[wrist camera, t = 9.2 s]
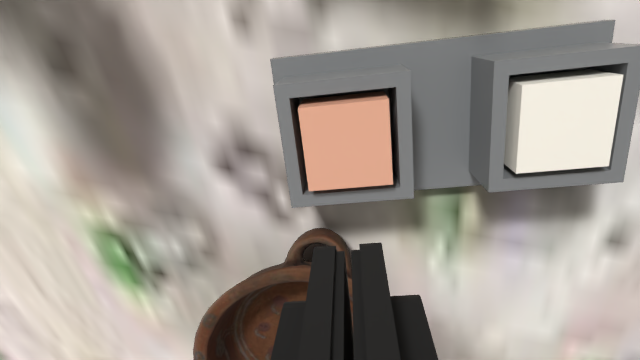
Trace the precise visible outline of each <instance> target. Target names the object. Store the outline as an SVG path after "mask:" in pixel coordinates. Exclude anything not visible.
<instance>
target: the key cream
mask: <svg viewBox="0 0 640 360" xmlns="http://www.w3.org/2000/svg"><path fill="white" fill-rule="evenodd" d="M622 81H623V75H622V74H616V73H610V72H604V71H598V70H591V69H586V70H576V71H567V72H557V73H548V74H538V75H528V76H519V77H509V85H508V102H507V119H506V136H505V153H504V164H505V165H506V166H507V167H509V168H510V169H511V170H512V171H513V172H515V173H516V174H518V173H531V172H543V171H555V170H567V169H580V168H592V167H604V166H609V162H610V155H611V149H612V143H613V137H614V131H615V124H616V118H617V112H618V106H619V100H620V93H621V87H622Z"/></svg>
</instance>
